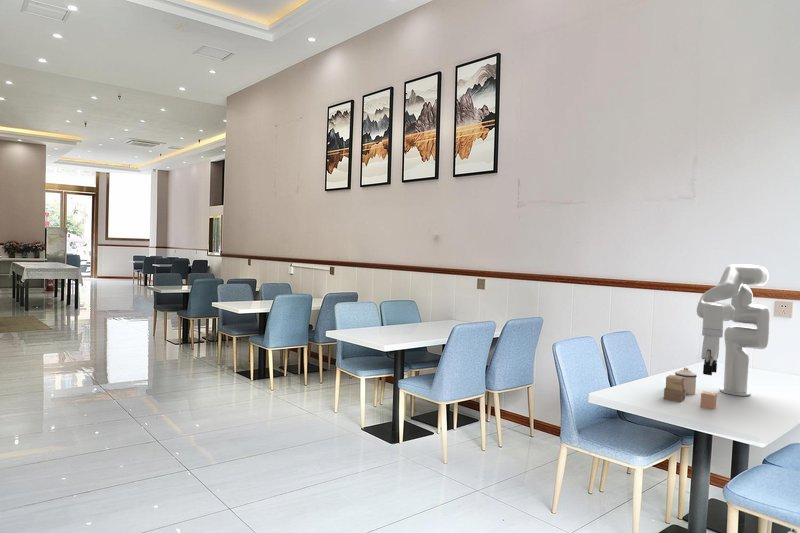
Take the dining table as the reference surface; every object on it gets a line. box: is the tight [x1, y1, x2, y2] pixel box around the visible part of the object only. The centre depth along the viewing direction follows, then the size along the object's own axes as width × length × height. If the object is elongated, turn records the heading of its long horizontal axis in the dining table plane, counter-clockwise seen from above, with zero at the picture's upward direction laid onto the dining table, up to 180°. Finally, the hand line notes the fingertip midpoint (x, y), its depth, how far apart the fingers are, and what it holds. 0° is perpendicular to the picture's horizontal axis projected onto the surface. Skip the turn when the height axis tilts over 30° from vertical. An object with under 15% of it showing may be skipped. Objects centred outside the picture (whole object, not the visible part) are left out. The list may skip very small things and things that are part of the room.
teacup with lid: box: [672, 367, 697, 396], centre depth 259 cm, size 12×9×12 cm
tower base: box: [663, 387, 686, 403], centre depth 244 cm, size 7×7×5 cm
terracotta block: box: [700, 390, 718, 410], centre depth 233 cm, size 5×5×6 cm
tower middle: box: [665, 374, 685, 391], centre depth 244 cm, size 6×6×5 cm
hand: (709, 373), depth 232 cm, fingers open, 9 cm apart
